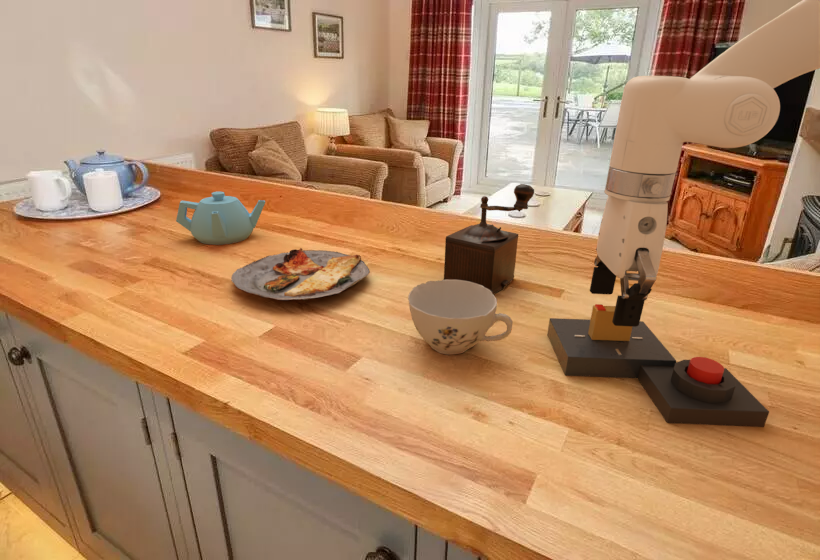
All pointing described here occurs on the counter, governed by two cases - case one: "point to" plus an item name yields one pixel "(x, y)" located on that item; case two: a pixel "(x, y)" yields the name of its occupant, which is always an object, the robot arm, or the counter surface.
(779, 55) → the robot arm
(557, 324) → the panel
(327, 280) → the food plate
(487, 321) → the teacup
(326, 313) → the counter surface
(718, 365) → the button
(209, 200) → the teapot
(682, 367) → the button block
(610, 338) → the red-tipped wooden block
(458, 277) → the manual coffee grinder
